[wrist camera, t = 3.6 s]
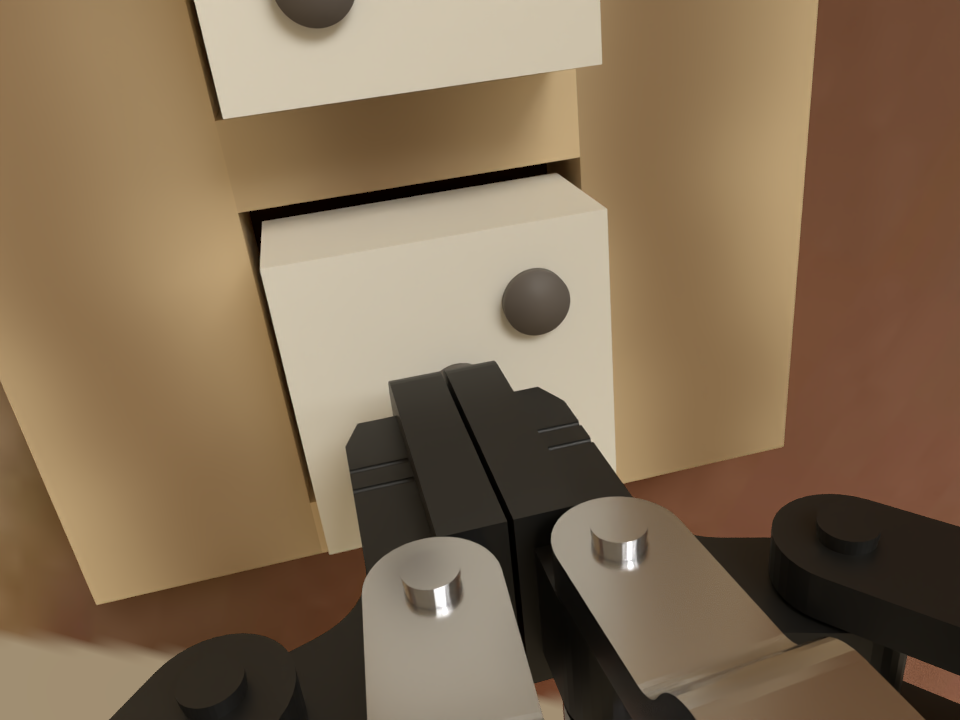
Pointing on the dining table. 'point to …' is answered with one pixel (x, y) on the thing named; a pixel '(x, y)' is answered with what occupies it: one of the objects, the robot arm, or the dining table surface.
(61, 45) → the board
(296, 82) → the tile two
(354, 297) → the tile three
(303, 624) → the dining table surface
